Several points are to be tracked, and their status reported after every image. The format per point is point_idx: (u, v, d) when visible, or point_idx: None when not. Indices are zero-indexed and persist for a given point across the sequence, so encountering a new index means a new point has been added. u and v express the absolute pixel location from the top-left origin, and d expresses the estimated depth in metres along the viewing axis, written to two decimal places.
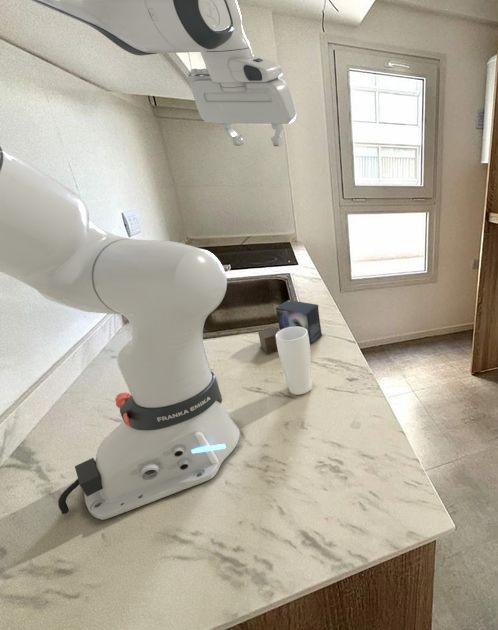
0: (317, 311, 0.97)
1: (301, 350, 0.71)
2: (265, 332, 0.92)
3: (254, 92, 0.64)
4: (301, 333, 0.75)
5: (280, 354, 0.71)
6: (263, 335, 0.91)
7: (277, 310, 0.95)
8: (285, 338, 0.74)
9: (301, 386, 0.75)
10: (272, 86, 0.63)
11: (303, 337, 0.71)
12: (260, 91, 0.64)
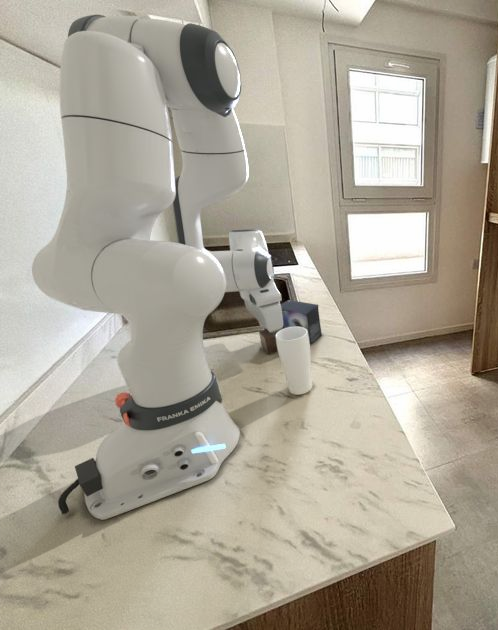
0: (317, 311, 0.97)
1: (301, 350, 0.71)
2: (266, 332, 0.92)
3: None
4: (301, 333, 0.75)
5: (280, 354, 0.71)
6: (264, 335, 0.91)
7: None
8: (285, 338, 0.74)
9: (301, 386, 0.75)
10: (261, 309, 0.84)
11: (303, 337, 0.71)
12: None
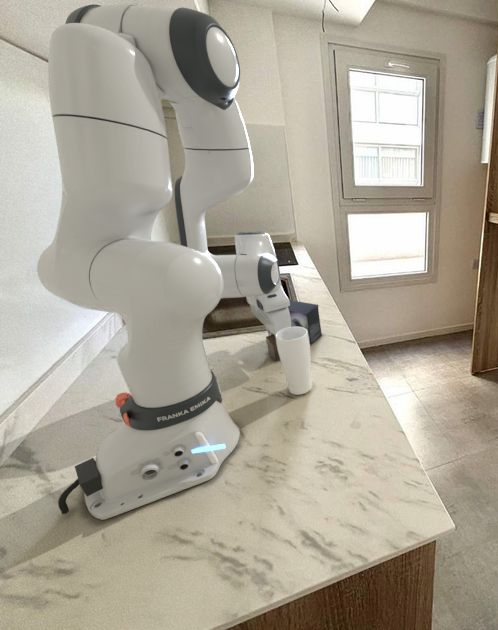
0: (317, 311, 0.97)
1: (301, 350, 0.71)
2: (274, 338, 0.89)
3: None
4: (301, 333, 0.75)
5: (280, 354, 0.71)
6: (271, 341, 0.87)
7: None
8: (285, 338, 0.74)
9: (301, 386, 0.75)
10: (269, 315, 0.80)
11: (303, 337, 0.71)
12: None
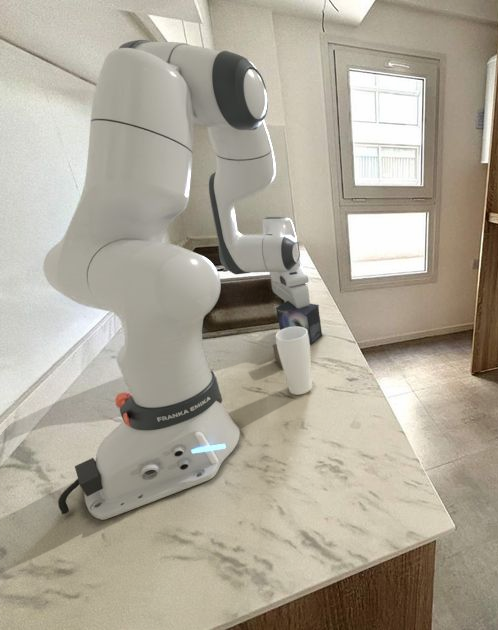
0: (317, 311, 0.97)
1: (301, 350, 0.71)
2: None
3: (287, 288, 0.96)
4: (301, 333, 0.75)
5: (280, 354, 0.71)
6: None
7: (277, 310, 0.95)
8: (285, 338, 0.74)
9: (301, 386, 0.75)
10: (290, 289, 0.92)
11: (303, 337, 0.71)
12: (288, 289, 0.95)
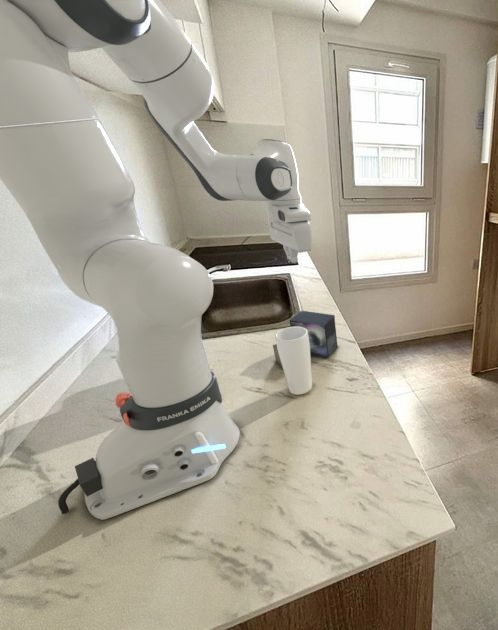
0: (334, 322, 0.91)
1: (301, 350, 0.71)
2: None
3: (286, 227, 0.84)
4: (301, 333, 0.75)
5: (280, 354, 0.71)
6: None
7: (291, 322, 0.88)
8: (285, 338, 0.74)
9: (301, 386, 0.75)
10: (290, 226, 0.80)
11: (303, 337, 0.71)
12: (288, 227, 0.83)
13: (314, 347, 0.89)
